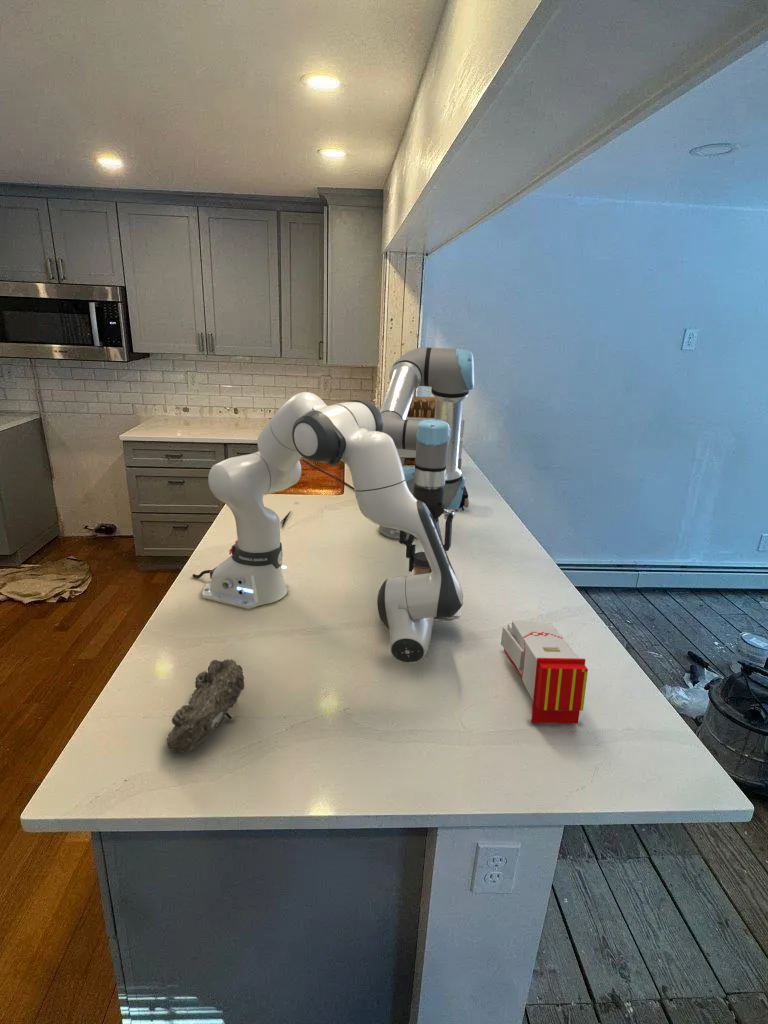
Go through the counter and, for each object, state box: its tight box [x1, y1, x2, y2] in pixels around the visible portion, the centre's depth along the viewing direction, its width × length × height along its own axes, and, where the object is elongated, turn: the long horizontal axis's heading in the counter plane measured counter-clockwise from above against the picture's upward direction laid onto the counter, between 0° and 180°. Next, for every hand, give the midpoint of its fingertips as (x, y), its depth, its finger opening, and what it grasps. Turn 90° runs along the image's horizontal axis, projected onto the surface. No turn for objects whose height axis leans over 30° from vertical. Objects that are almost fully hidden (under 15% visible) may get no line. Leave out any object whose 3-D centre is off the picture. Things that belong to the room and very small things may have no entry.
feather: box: [280, 510, 292, 528], centre depth 213 cm, size 2×28×2 cm
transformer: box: [397, 395, 465, 471], centre depth 268 cm, size 34×33×41 cm
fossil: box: [166, 658, 245, 754], centre depth 106 cm, size 22×10×15 cm
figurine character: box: [455, 485, 470, 512], centre depth 229 cm, size 7×8×15 cm
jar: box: [413, 564, 432, 575], centre depth 147 cm, size 5×5×15 cm
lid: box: [413, 551, 430, 567], centre depth 144 cm, size 6×6×2 cm
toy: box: [500, 620, 589, 724], centre depth 121 cm, size 12×13×30 cm
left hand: (421, 588), depth 148 cm, fingers closed on jar, 4 cm apart
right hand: (422, 571), depth 145 cm, fingers closed on lid, 5 cm apart
